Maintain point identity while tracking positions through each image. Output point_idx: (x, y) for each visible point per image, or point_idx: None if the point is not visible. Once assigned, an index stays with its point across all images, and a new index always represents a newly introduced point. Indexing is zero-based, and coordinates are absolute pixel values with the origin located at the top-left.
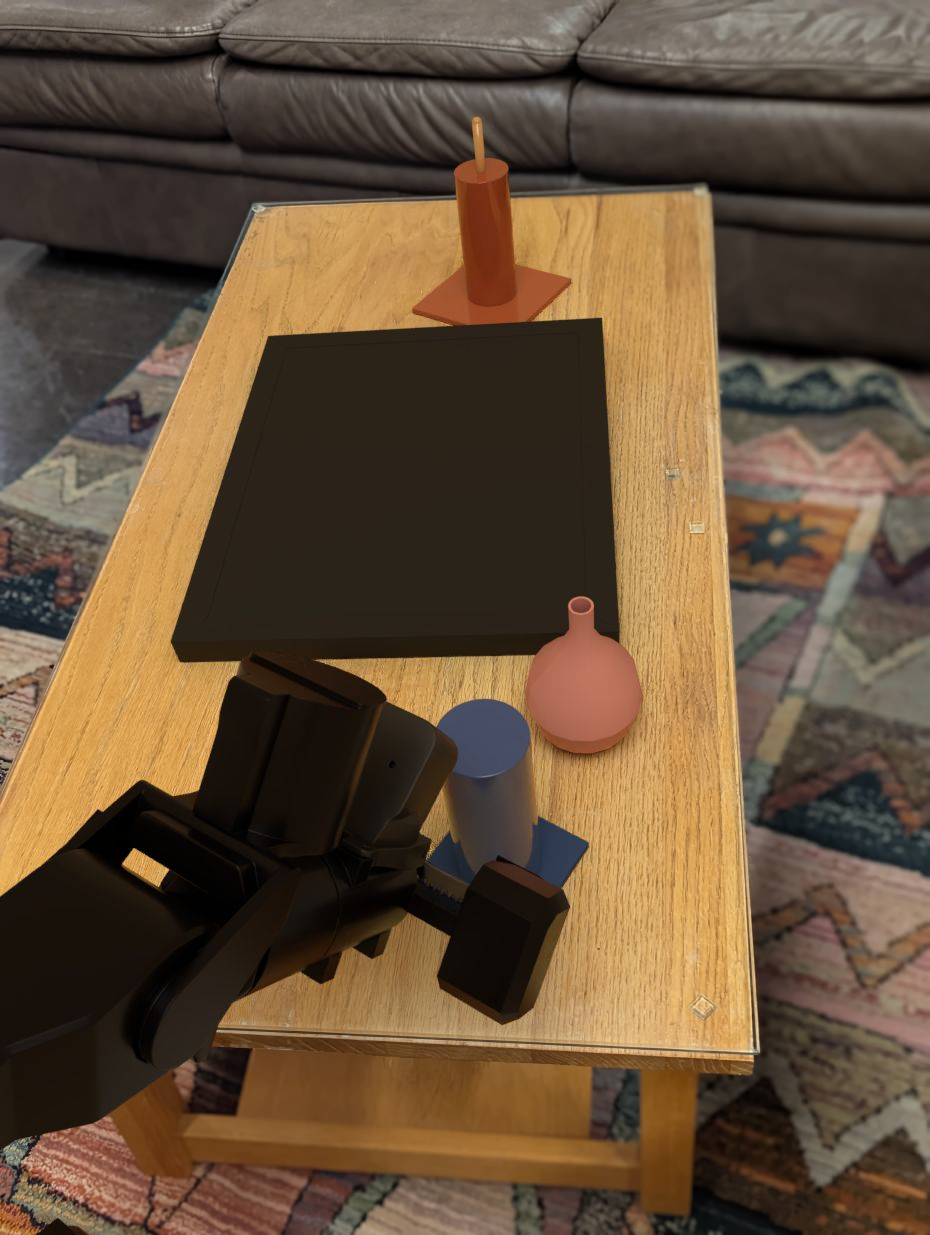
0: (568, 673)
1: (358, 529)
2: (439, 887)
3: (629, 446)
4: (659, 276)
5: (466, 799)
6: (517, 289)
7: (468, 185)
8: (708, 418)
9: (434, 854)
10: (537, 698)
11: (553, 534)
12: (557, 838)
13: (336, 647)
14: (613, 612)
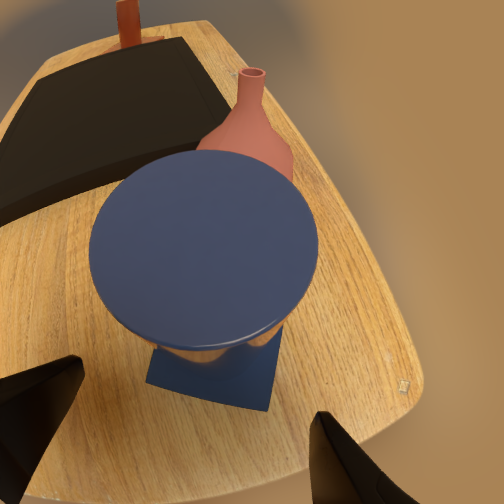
0: (241, 146)
1: (63, 124)
2: (173, 382)
3: (207, 68)
4: (200, 32)
5: (201, 363)
6: (142, 41)
7: (121, 2)
8: (241, 58)
9: (156, 351)
10: None
11: (181, 95)
12: None
13: (49, 195)
14: None
